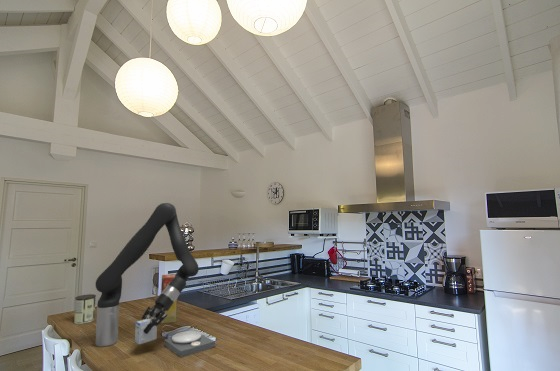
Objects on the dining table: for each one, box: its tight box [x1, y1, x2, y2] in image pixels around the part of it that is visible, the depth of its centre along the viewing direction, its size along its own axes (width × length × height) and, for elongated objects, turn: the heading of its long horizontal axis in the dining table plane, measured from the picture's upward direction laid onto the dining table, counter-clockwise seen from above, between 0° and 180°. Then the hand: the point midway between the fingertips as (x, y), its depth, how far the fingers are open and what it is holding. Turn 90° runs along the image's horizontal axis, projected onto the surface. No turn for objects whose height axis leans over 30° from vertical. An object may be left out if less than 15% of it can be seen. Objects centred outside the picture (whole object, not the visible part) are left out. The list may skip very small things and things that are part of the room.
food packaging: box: [159, 273, 178, 325], centre depth 185 cm, size 13×9×25 cm
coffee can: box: [73, 293, 97, 325], centre depth 183 cm, size 10×10×14 cm
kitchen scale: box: [163, 330, 216, 358], centre depth 143 cm, size 18×16×4 cm
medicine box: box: [134, 318, 158, 345], centre depth 138 cm, size 8×4×9 cm, turn 139°
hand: (142, 331), depth 137 cm, fingers closed on medicine box, 4 cm apart
